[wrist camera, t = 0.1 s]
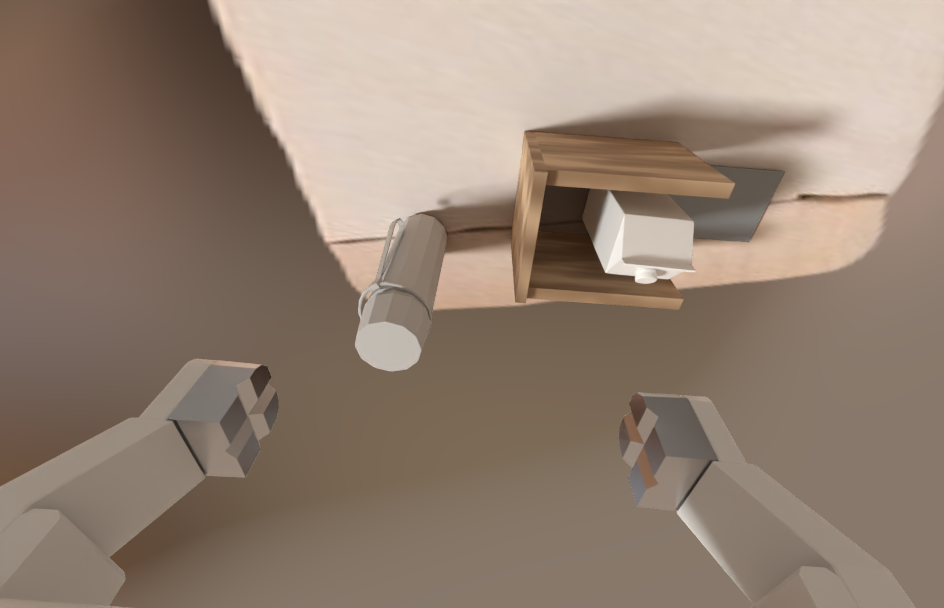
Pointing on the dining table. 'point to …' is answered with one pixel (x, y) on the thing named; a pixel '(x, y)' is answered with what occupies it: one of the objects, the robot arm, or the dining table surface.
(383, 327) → the water bottle
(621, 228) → the milk carton
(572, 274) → the shelf bay
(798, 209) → the dining table surface
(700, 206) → the mat
